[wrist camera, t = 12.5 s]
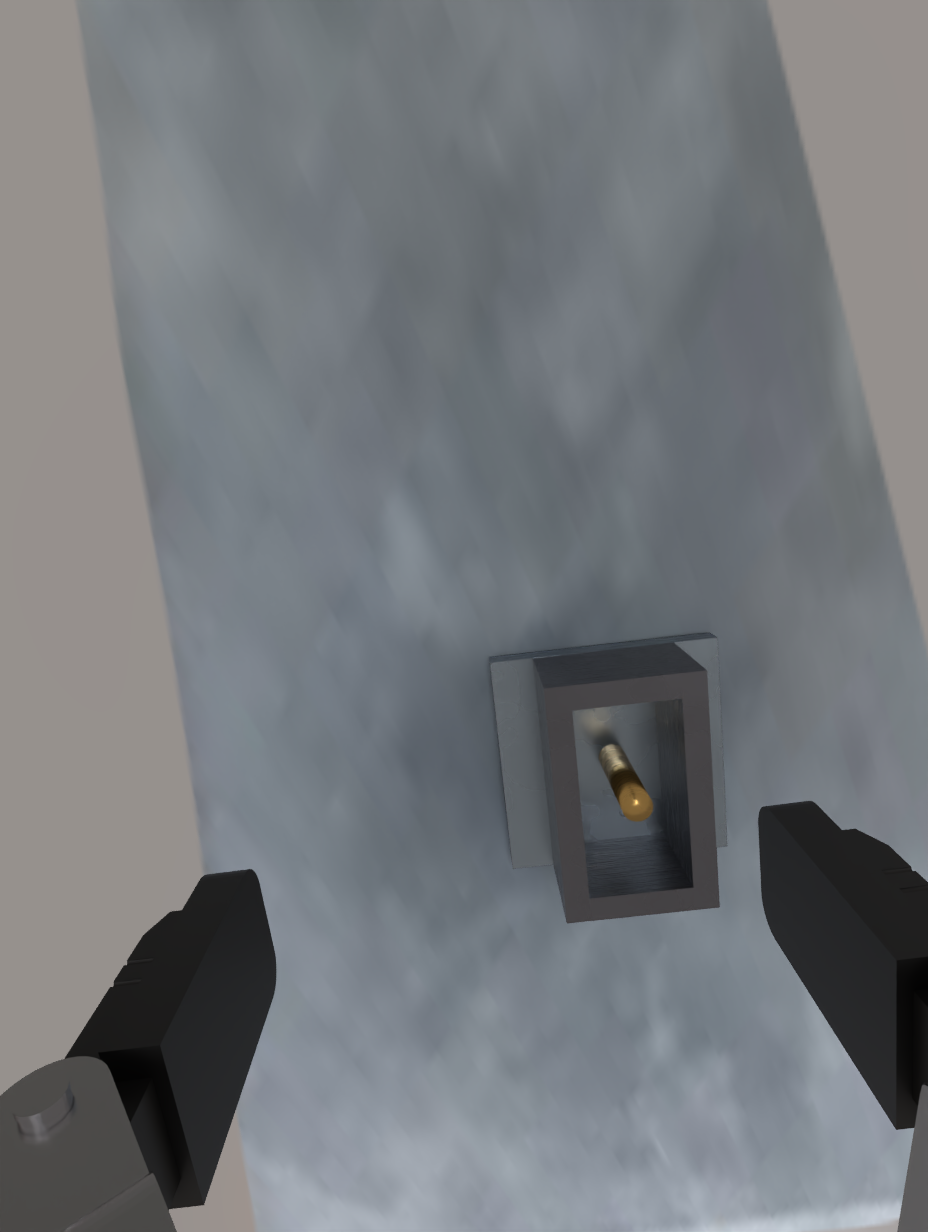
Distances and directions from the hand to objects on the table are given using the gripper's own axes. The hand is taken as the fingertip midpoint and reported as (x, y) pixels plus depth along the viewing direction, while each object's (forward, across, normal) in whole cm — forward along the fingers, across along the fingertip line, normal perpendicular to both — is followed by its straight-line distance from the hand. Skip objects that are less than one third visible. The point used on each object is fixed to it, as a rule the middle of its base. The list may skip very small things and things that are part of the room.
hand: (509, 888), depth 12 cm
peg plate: (+22, -5, +8) cm, 24 cm away
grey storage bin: (+21, -5, +8) cm, 23 cm away
